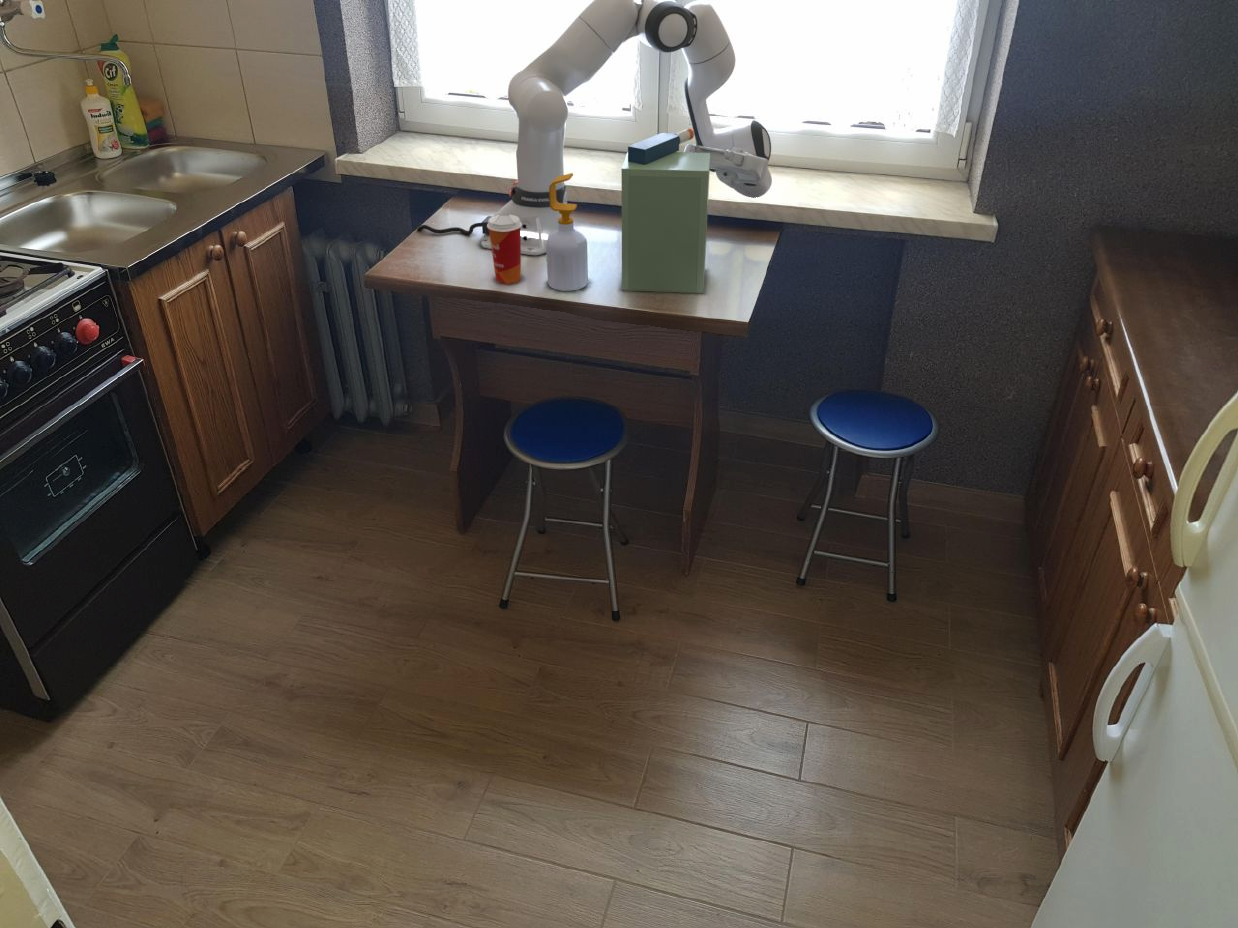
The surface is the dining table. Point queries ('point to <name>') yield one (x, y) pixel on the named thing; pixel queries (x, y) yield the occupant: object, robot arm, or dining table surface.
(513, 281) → the paper cup
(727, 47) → the robot arm
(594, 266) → the dining table surface
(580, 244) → the soap bottle
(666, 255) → the stand
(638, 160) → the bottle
